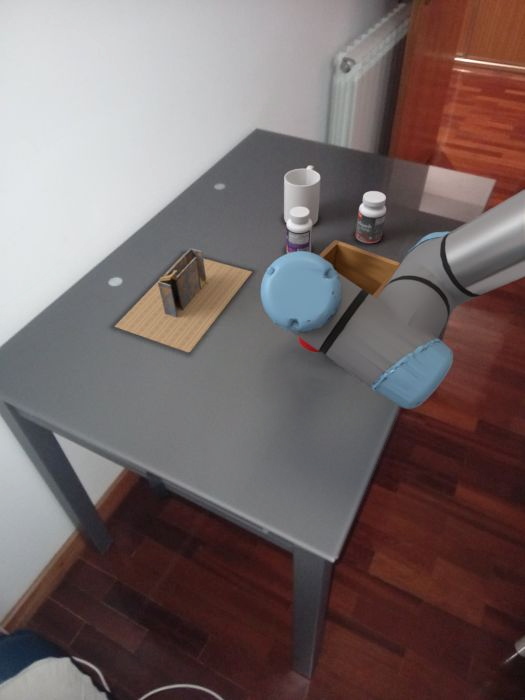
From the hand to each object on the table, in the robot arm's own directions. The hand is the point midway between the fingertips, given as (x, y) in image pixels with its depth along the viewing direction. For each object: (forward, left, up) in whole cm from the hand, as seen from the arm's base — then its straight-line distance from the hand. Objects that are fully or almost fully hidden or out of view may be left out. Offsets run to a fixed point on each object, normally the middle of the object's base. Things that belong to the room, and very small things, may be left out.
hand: (320, 311), depth 82 cm
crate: (0, -10, -7) cm, 12 cm away
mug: (+25, -34, -7) cm, 42 cm away
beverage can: (-1, +3, -4) cm, 5 cm away
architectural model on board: (+28, +4, -7) cm, 29 cm away
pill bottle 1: (+18, -21, -7) cm, 28 cm away
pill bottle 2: (+8, -34, -7) cm, 35 cm away
